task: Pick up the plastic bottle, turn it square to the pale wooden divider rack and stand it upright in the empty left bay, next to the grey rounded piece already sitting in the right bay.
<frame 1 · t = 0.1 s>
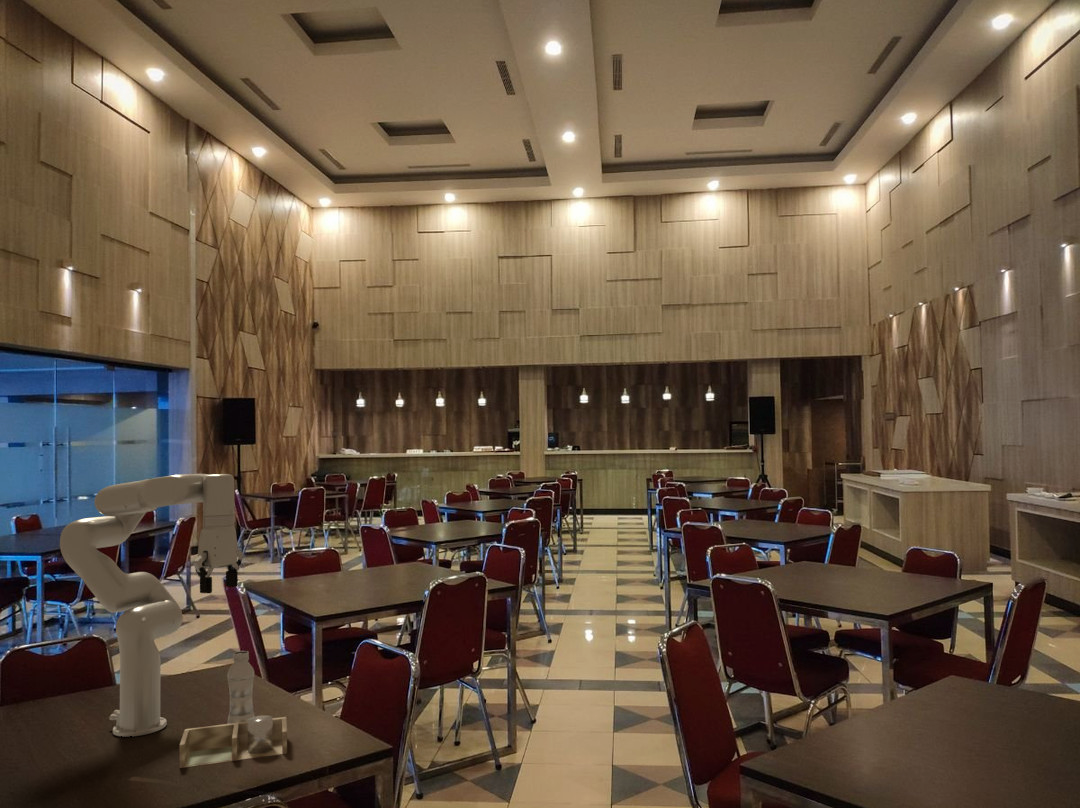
hand: (219, 589, 202), 37 cm above the table, tool pointing down, fingers open, 9 cm apart
plastic bottle: (241, 732, 203), on the table
grey rounded piece: (260, 749, 188), point 1 cm above the table, touching divider rack
divider rack: (235, 755, 187), on the table
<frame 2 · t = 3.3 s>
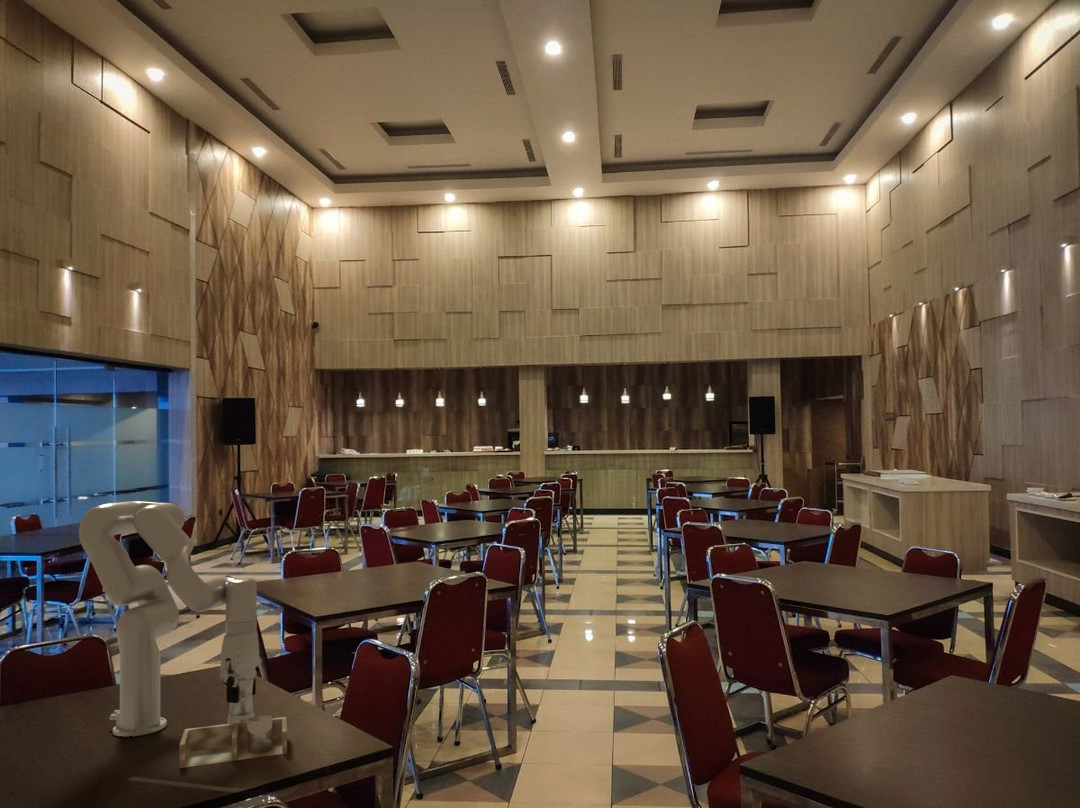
hand: (241, 697, 203), 9 cm above the table, tool pointing down, fingers closed on plastic bottle, 6 cm apart
plastic bottle: (241, 732, 203), on the table, touching gripper
everything else where it was.
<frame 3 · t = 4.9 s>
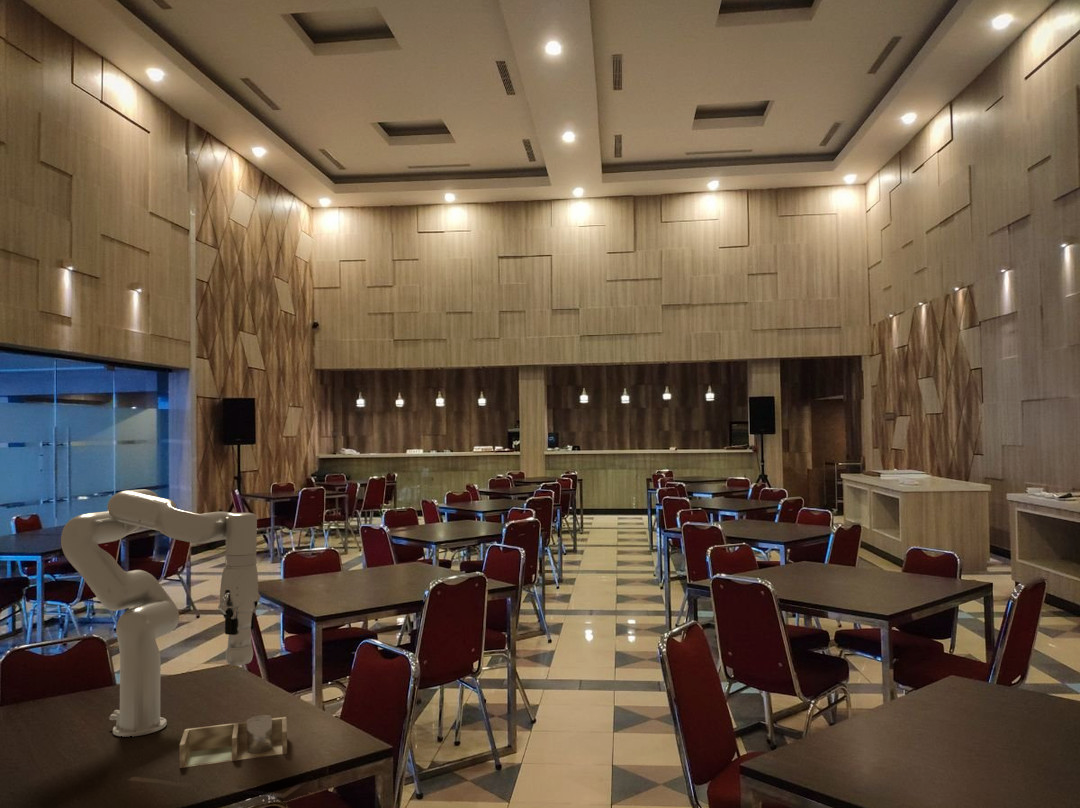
hand: (239, 630, 204), 26 cm above the table, tool pointing down, fingers closed on plastic bottle, 6 cm apart
plastic bottle: (239, 665, 204), point 17 cm above the table, touching gripper
everything else where it was.
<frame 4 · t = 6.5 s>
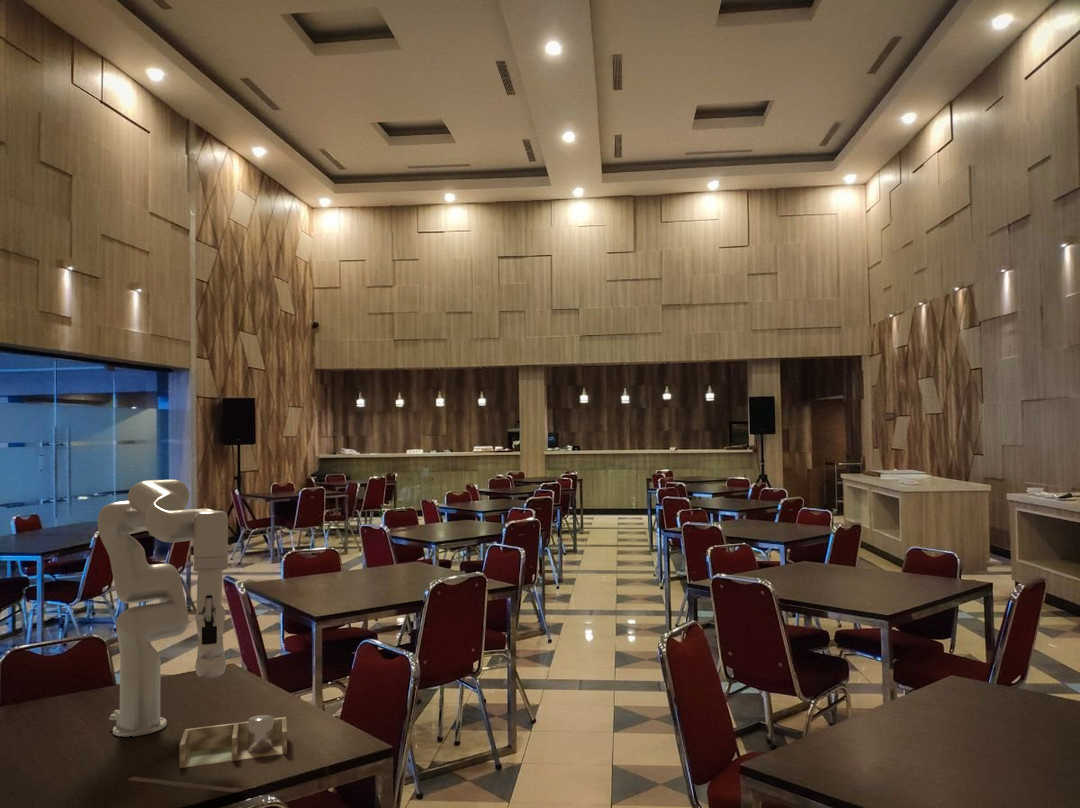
hand: (210, 640, 186), 27 cm above the table, tool pointing down, fingers closed on plastic bottle, 6 cm apart
plastic bottle: (210, 678, 186), point 19 cm above the table, touching gripper
everything else where it was.
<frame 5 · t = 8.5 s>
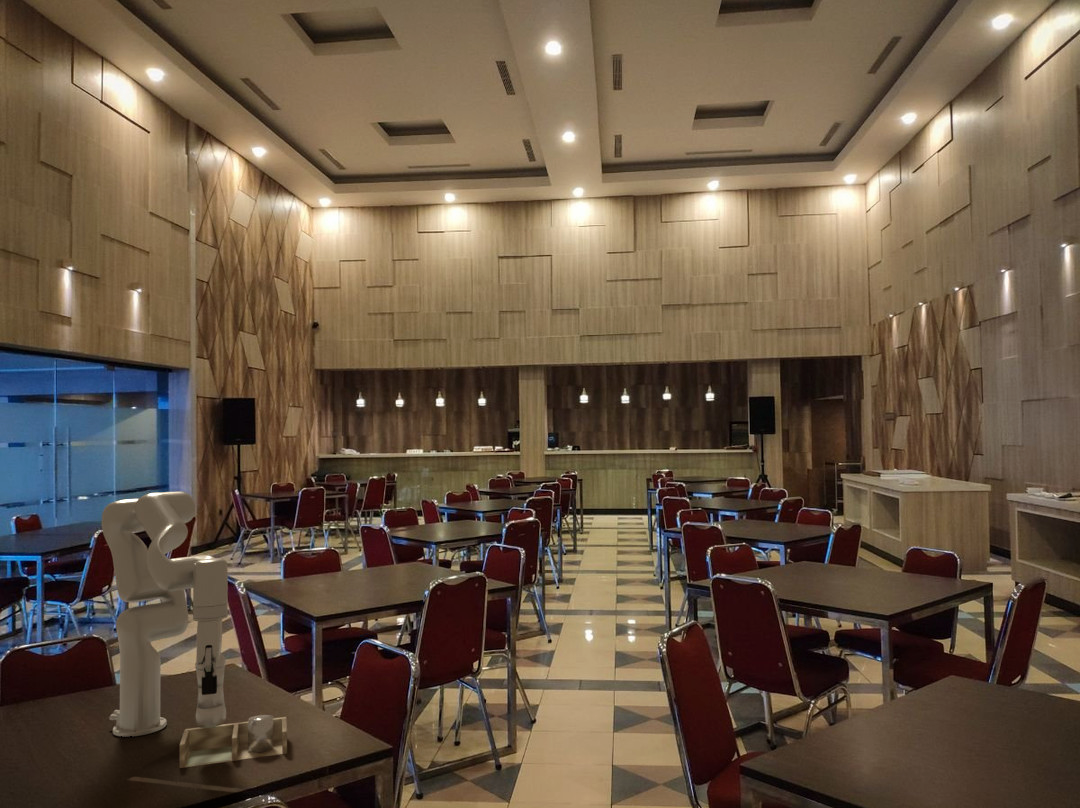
hand: (210, 689, 185), 16 cm above the table, tool pointing down, fingers closed on plastic bottle, 6 cm apart
plastic bottle: (210, 727, 185), point 7 cm above the table, touching gripper
everything else where it was.
when the fingers open (11 cm above the table, at t = 10.1 s): plastic bottle drops 1 cm, resting on divider rack.
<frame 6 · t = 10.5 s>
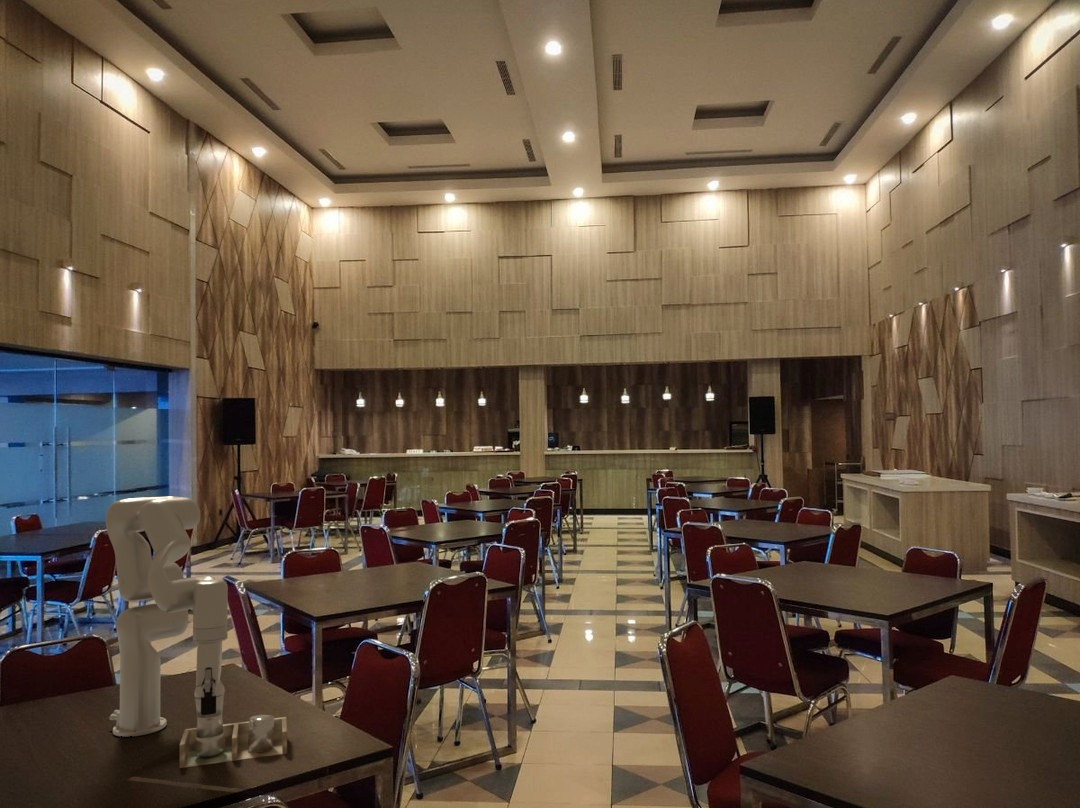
hand: (210, 707, 185), 12 cm above the table, tool pointing down, fingers open, 9 cm apart
plastic bottle: (209, 756, 185), point 1 cm above the table, touching divider rack
everything else where it was.
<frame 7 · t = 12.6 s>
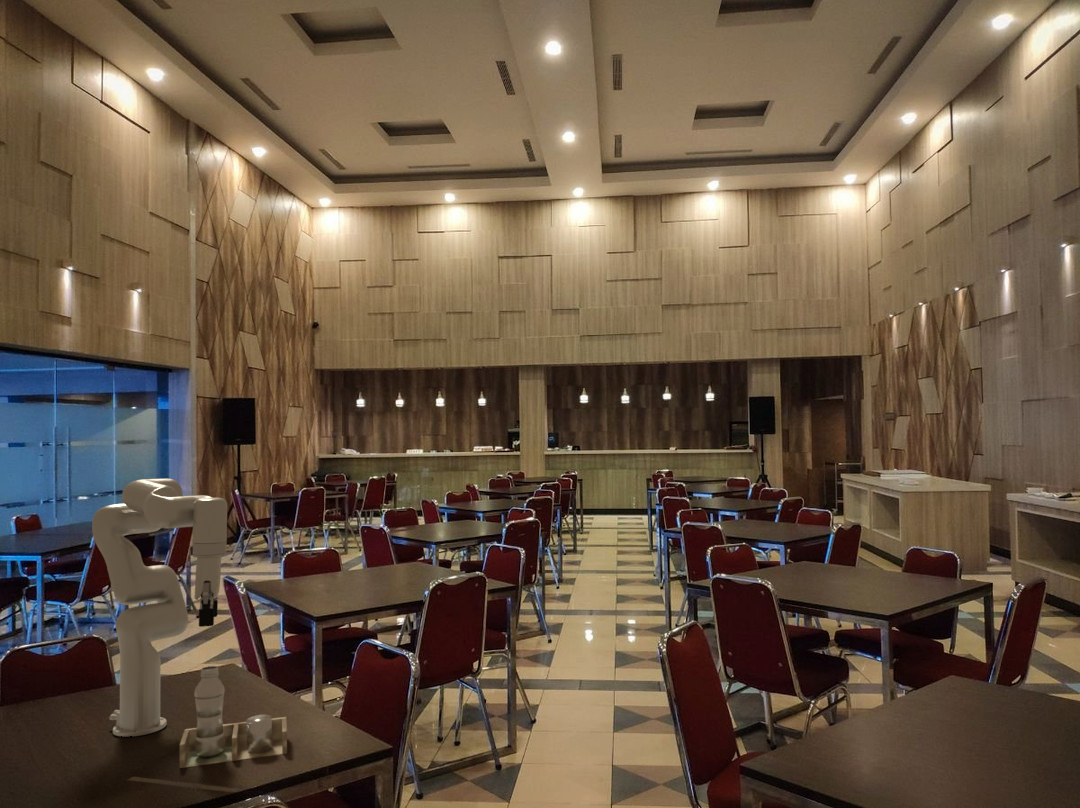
hand: (208, 621, 190), 31 cm above the table, tool pointing down, fingers open, 9 cm apart
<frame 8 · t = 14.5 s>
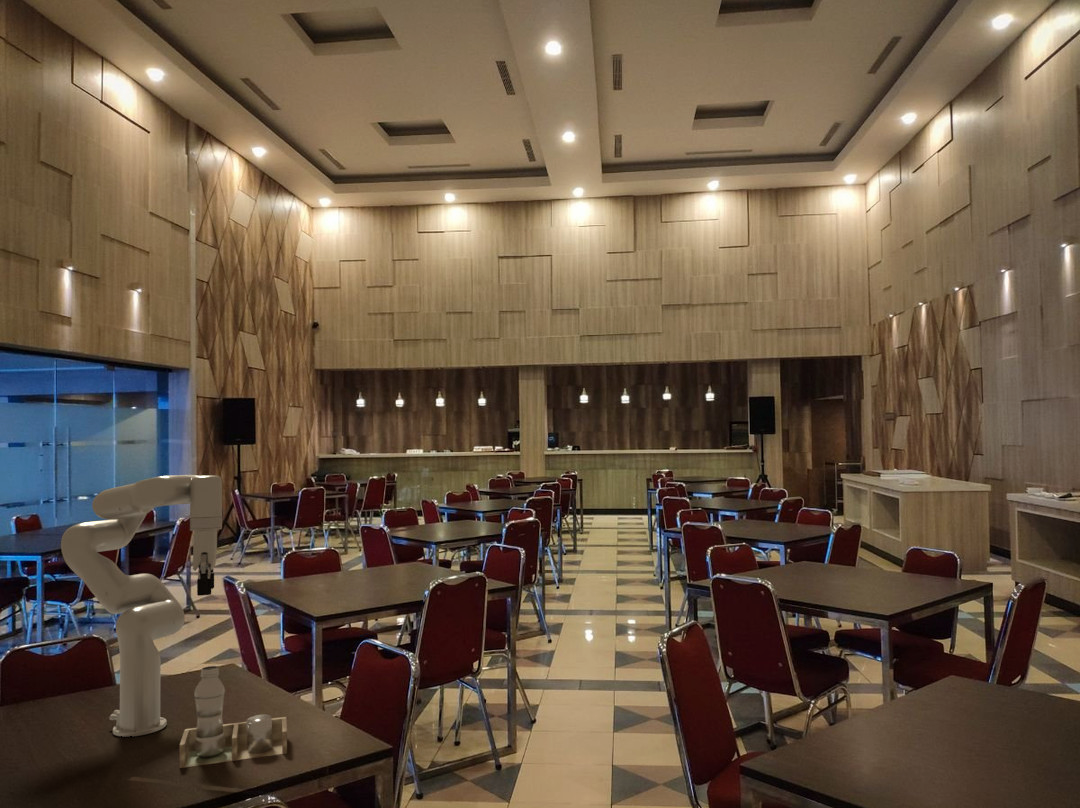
hand: (205, 591, 201), 36 cm above the table, tool pointing down, fingers open, 9 cm apart
nothing on the table moved.
at the end: plastic bottle 0.3 cm from the target spot on the divider rack, point 0.7 cm above the divider rack's base; plastic bottle tilted 0°; grey rounded piece moved 0.2 cm from its start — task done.
